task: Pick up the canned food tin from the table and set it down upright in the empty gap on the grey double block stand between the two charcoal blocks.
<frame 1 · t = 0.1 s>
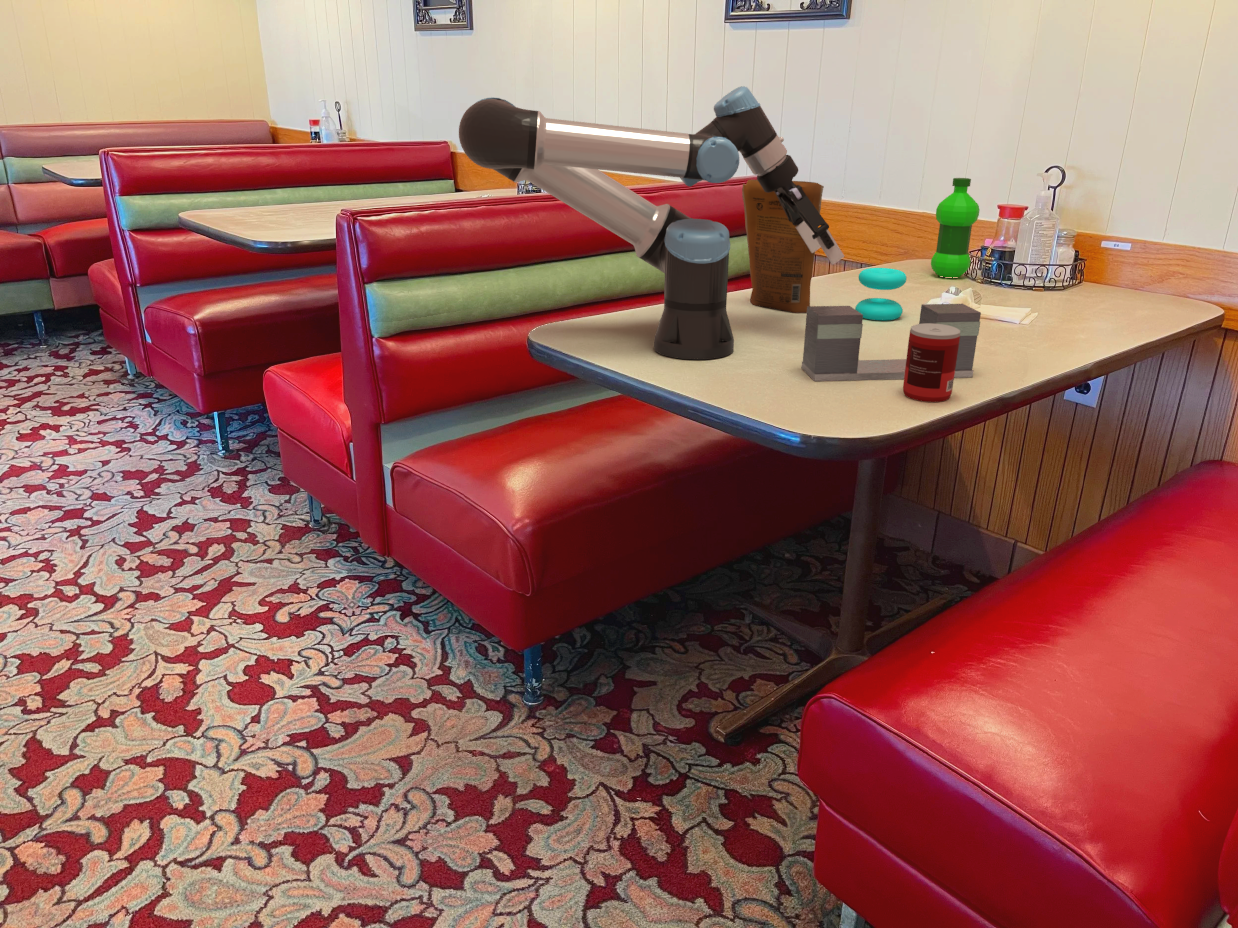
hand: (827, 254, 185), 15 cm above the table, tool tilted 35°, fingers open, 13 cm apart
canned food: (926, 396, 151), on the table
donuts: (877, 317, 203), on the table
pancake mix bag: (776, 309, 210), on the table
plastic bottle: (948, 277, 245), on the table
grey double block stand: (885, 372, 163), on the table
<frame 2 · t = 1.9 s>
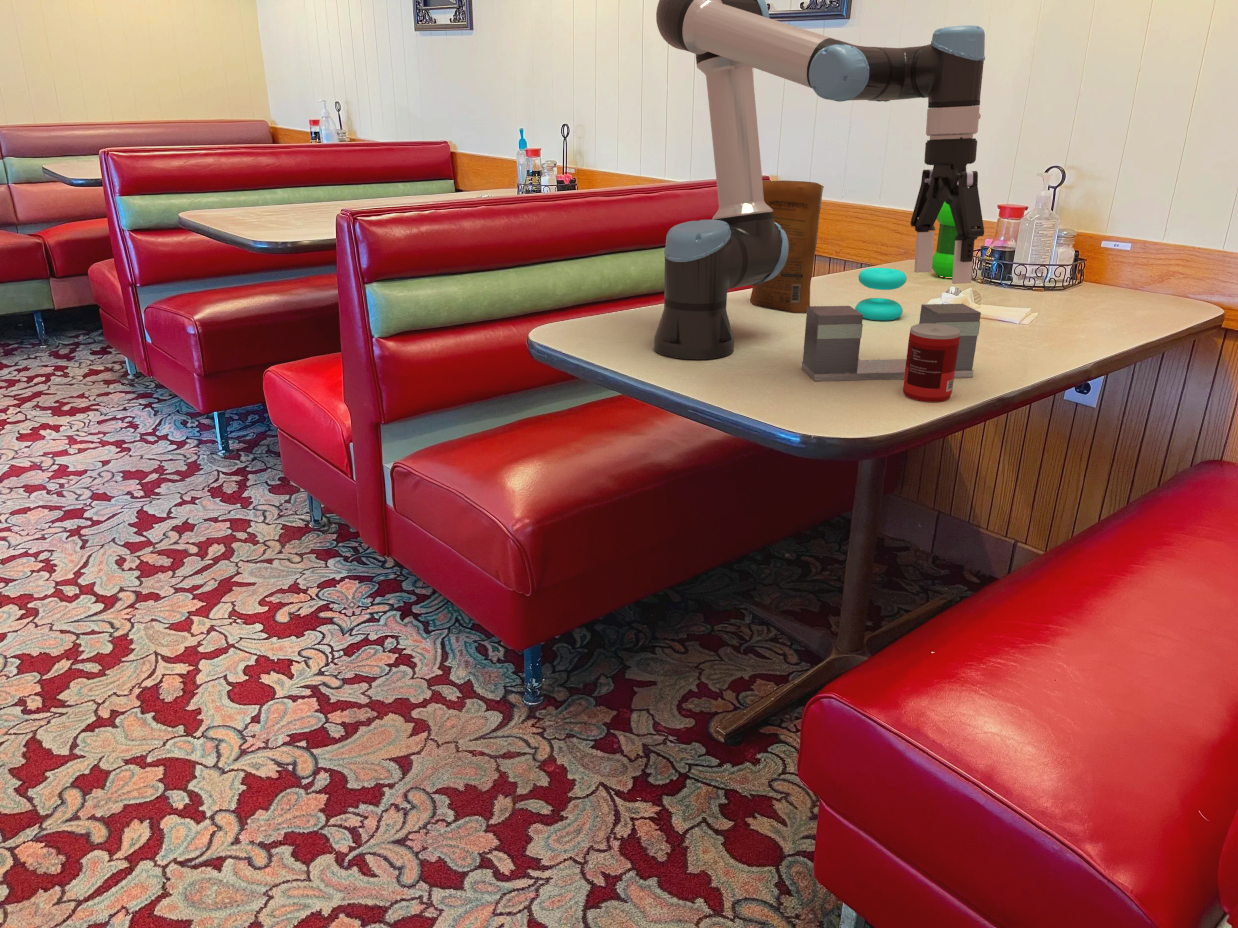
hand: (941, 277, 149), 18 cm above the table, tool pointing down, fingers open, 13 cm apart
nothing on the table moved.
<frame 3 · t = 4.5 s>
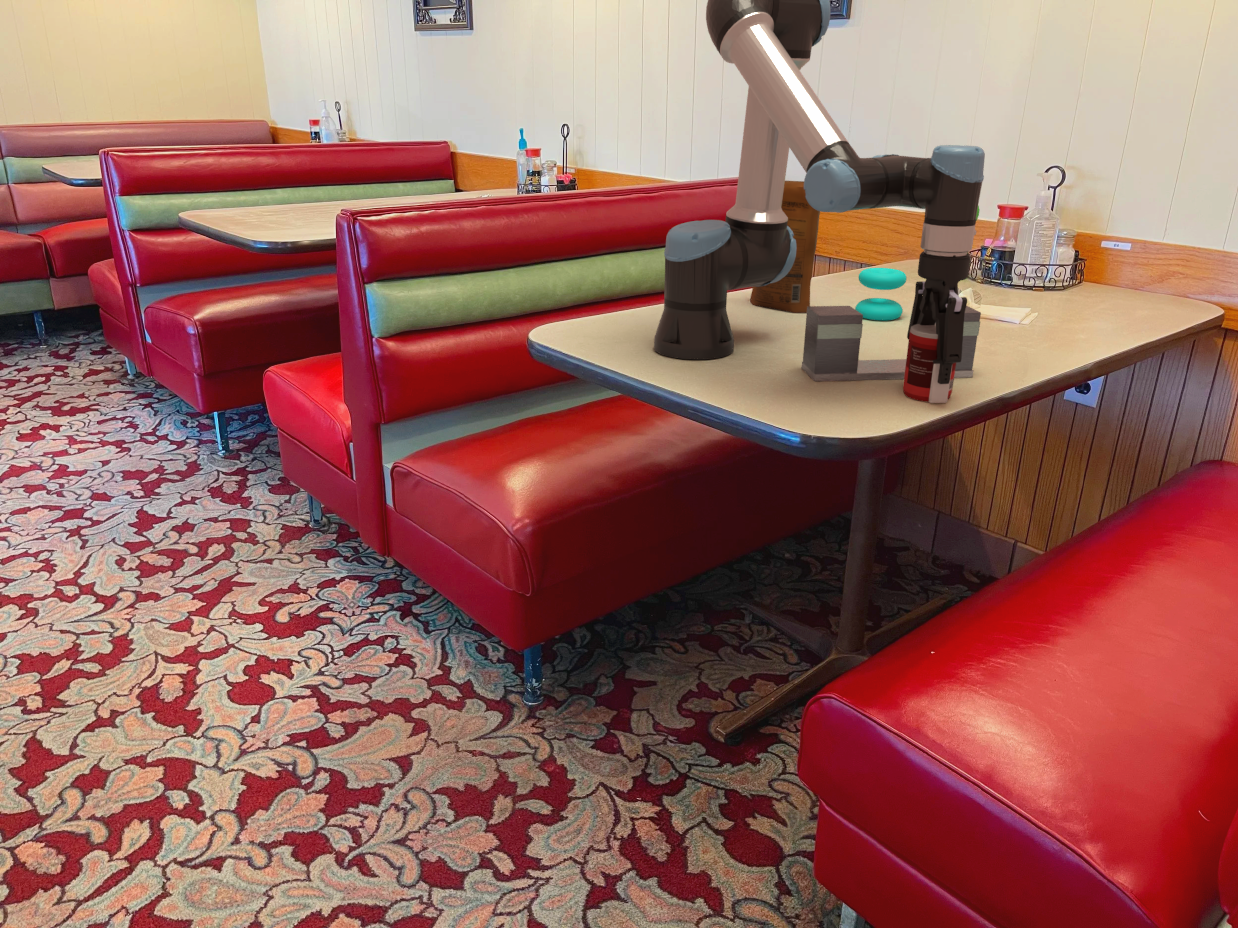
hand: (926, 393, 151), 0 cm above the table, tool pointing down, fingers closed on canned food, 8 cm apart
canned food: (926, 396, 151), on the table, touching gripper
everything else where it was.
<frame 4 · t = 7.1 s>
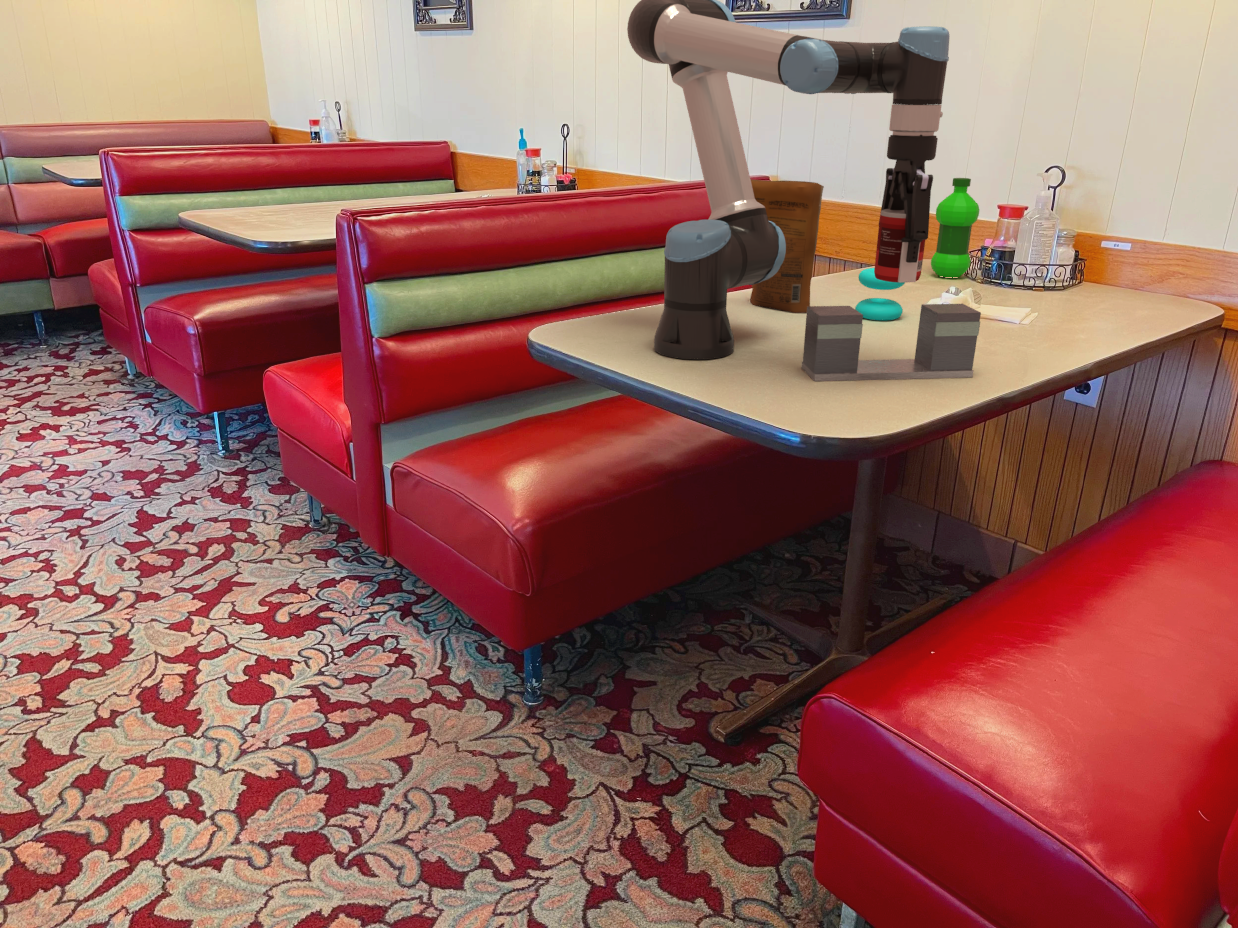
hand: (896, 276, 156), 17 cm above the table, tool pointing down, fingers closed on canned food, 8 cm apart
canned food: (896, 279, 156), point 16 cm above the table, touching gripper
everything else where it was.
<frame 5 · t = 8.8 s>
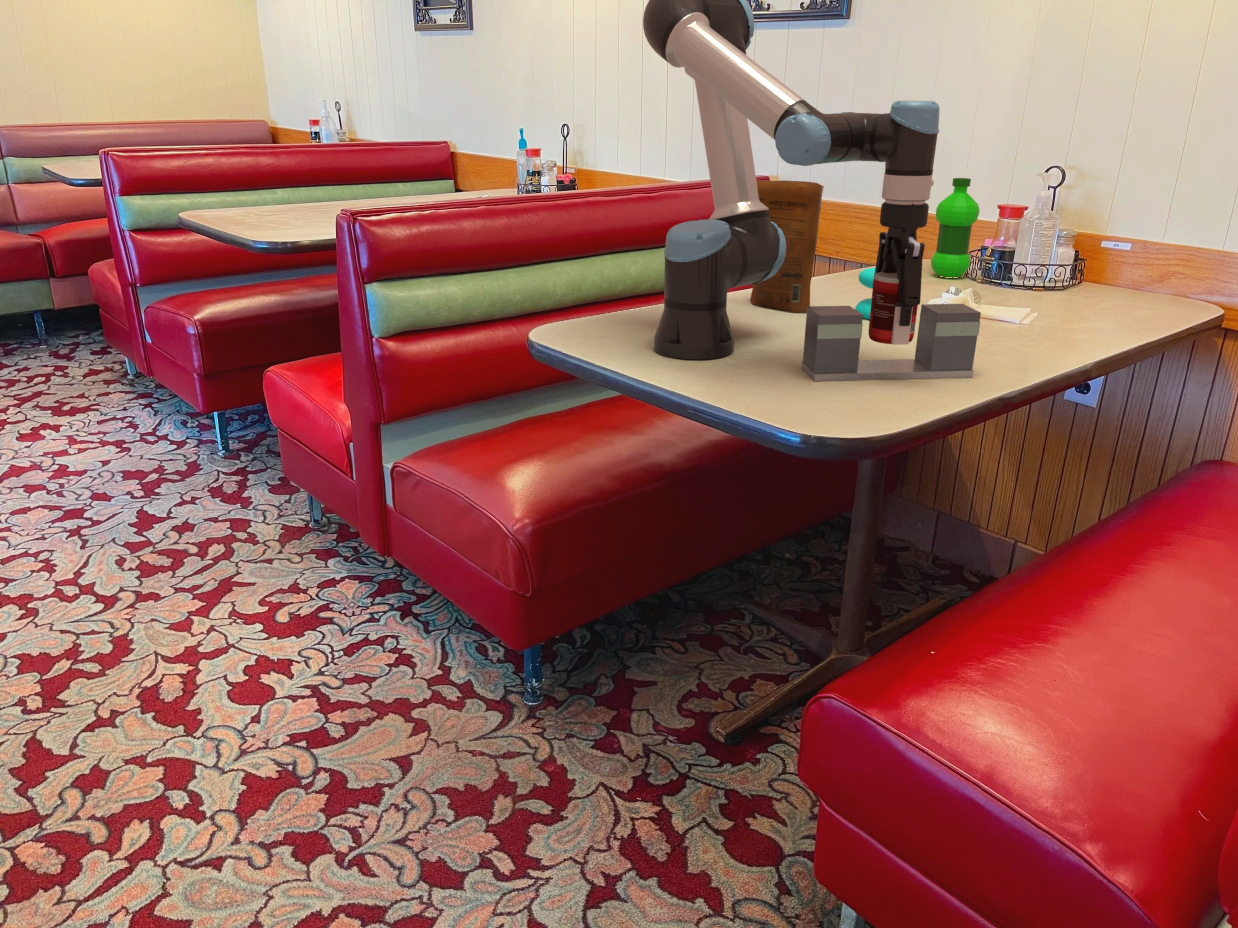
hand: (890, 337, 160), 6 cm above the table, tool pointing down, fingers closed on canned food, 8 cm apart
canned food: (890, 340, 160), point 6 cm above the table, touching gripper
everything else where it was.
when the fingers open (3 cm above the table, at t = 10.0 s): canned food drops 1 cm, resting on grey double block stand.
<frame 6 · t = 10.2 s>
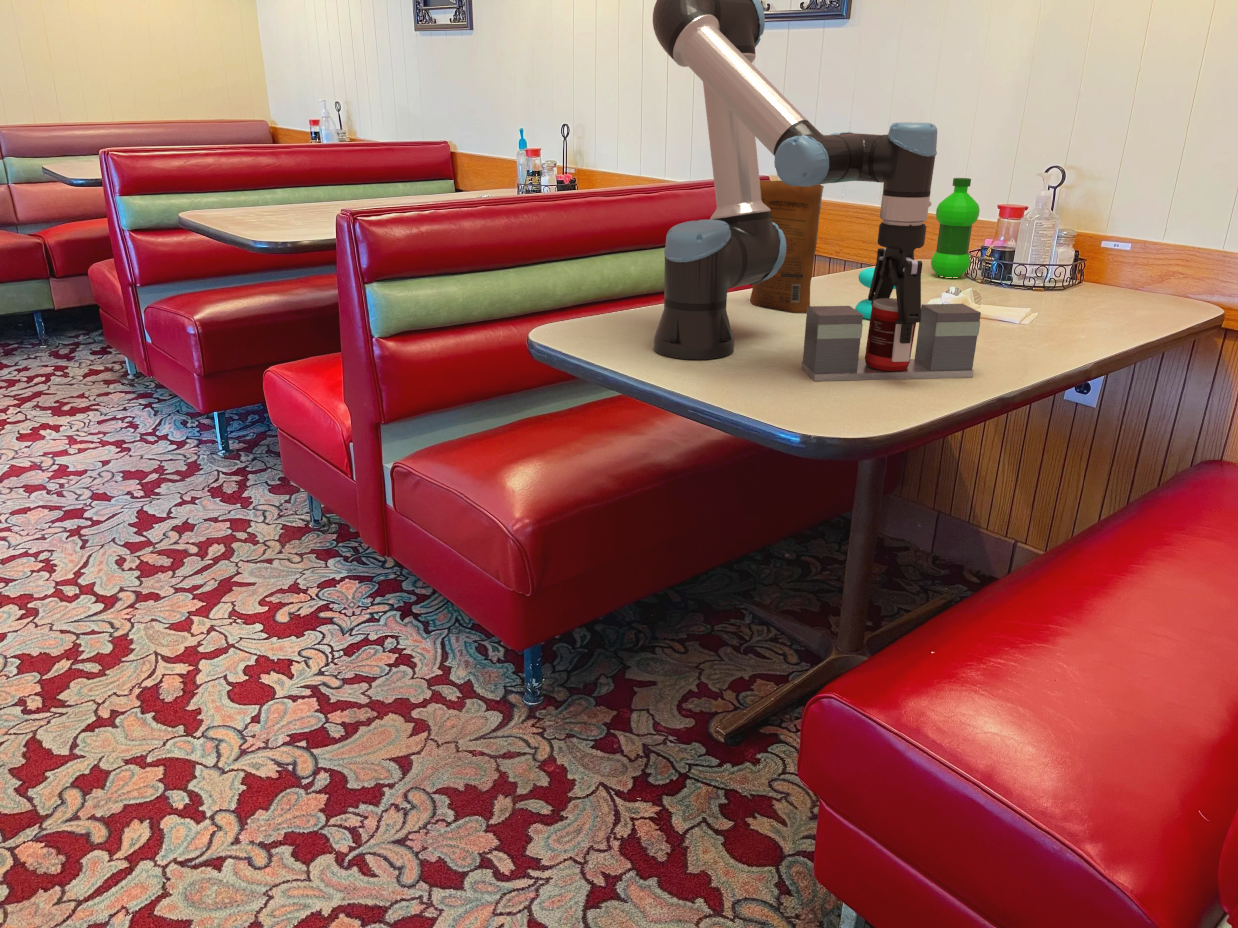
hand: (888, 352, 161), 4 cm above the table, tool pointing down, fingers open, 10 cm apart
canned food: (886, 366, 162), point 1 cm above the table, touching grey double block stand
everything else where it was.
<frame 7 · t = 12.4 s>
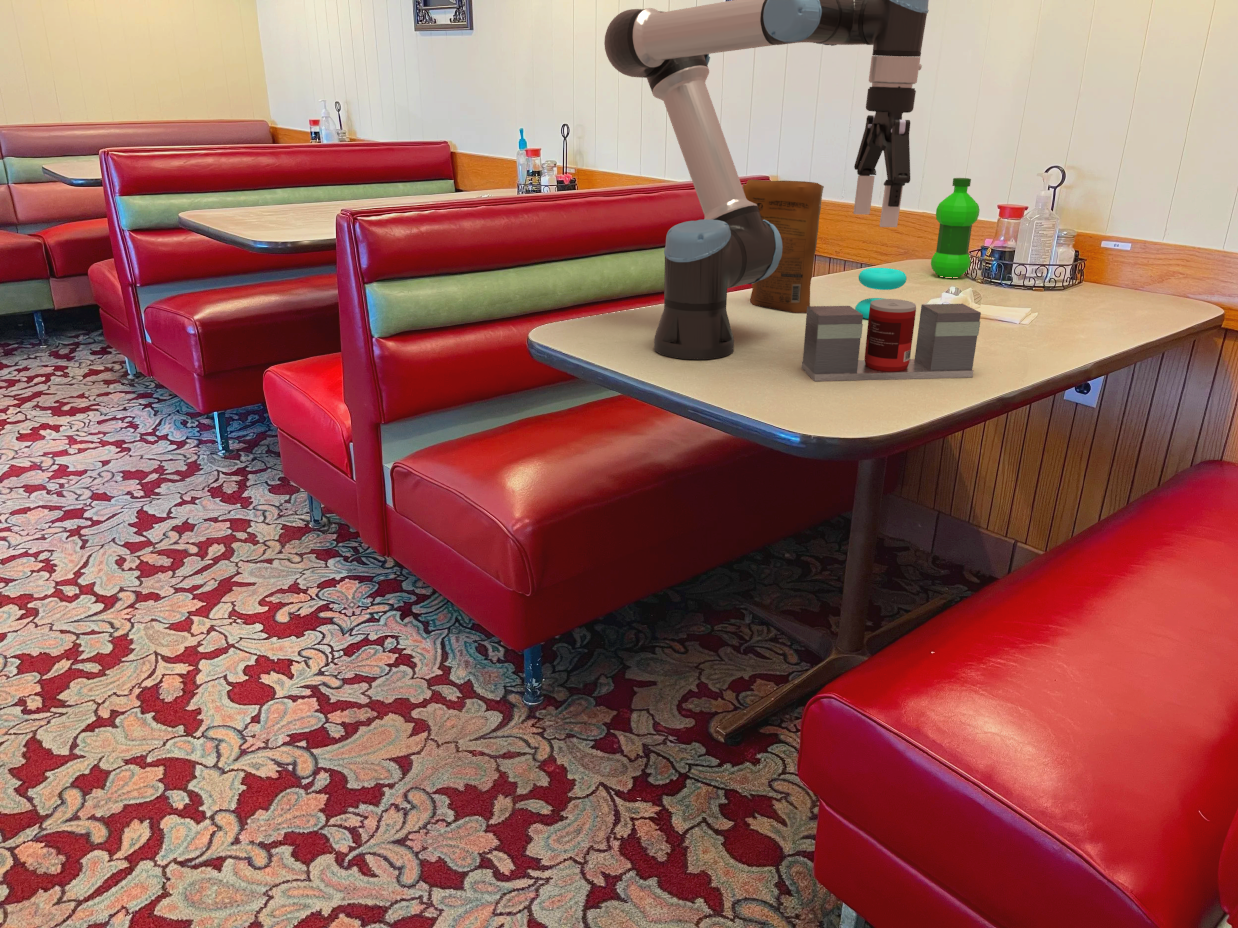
hand: (874, 220, 158), 25 cm above the table, tool pointing down, fingers open, 13 cm apart
nothing on the table moved.
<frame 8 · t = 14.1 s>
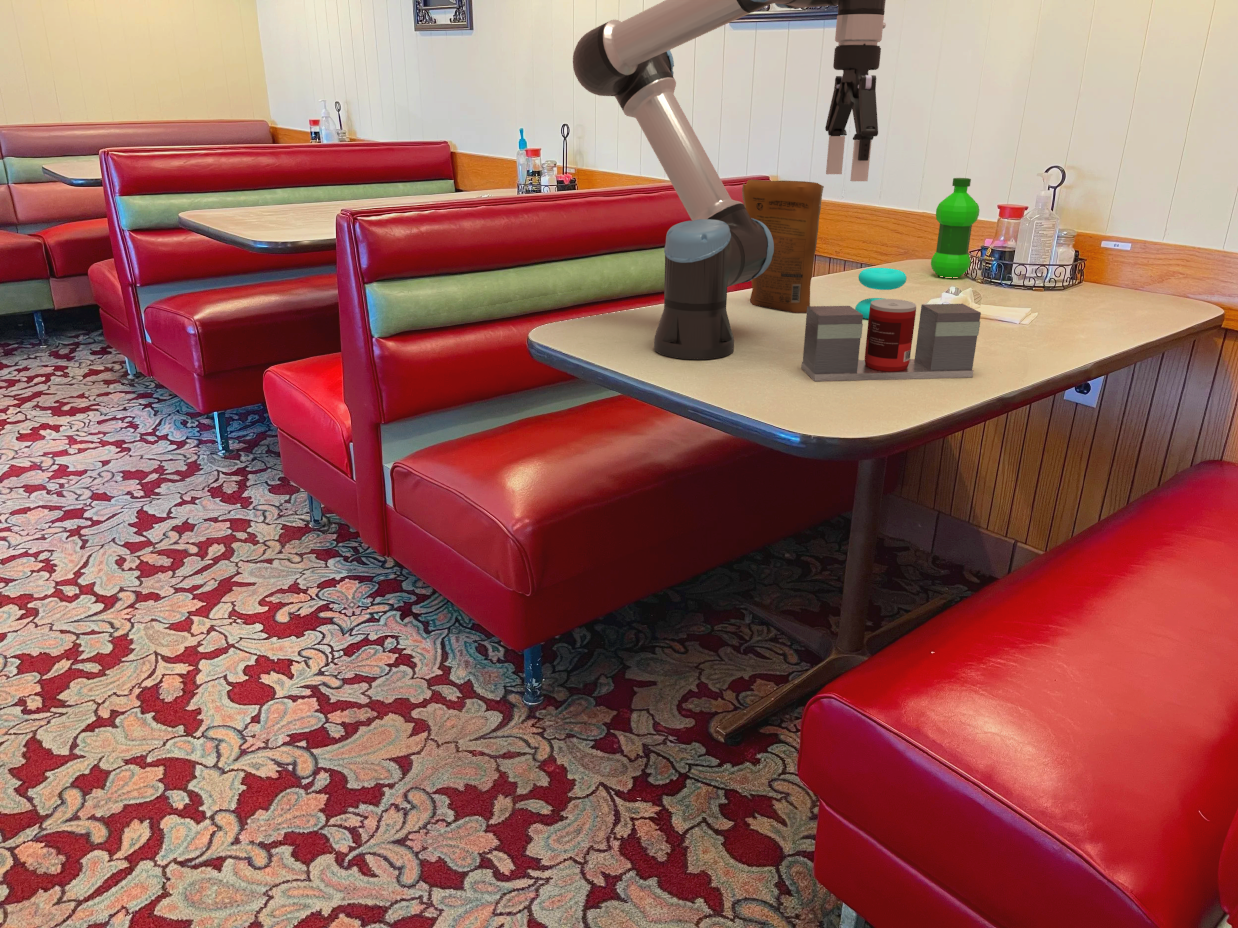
hand: (845, 177, 162), 32 cm above the table, tool pointing down, fingers open, 13 cm apart
nothing on the table moved.
at the end: canned food inside the target area (0.1 cm from its centre), point 1.0 cm above the table; canned food tilted 0°; the gripper is holding nothing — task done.
